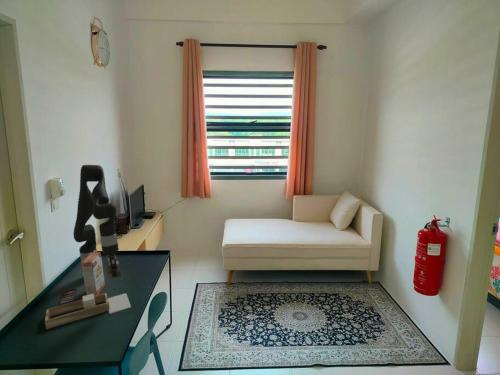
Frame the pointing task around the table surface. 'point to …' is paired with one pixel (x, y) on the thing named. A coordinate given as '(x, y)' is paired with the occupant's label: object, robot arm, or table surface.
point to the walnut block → (109, 272)
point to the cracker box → (93, 274)
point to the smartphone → (68, 297)
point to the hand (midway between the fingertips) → (114, 274)
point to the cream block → (88, 301)
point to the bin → (75, 315)
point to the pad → (118, 303)
